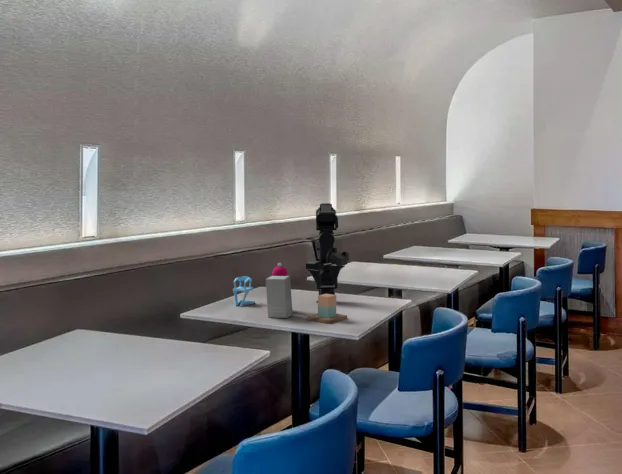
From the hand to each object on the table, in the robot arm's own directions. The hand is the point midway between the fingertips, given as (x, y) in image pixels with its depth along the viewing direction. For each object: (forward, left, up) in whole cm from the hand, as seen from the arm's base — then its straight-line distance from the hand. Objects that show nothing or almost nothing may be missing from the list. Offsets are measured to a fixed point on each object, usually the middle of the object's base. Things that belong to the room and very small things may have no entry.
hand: (326, 285), depth 229 cm
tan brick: (0, 0, -8) cm, 8 cm away
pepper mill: (-24, -1, -13) cm, 27 cm away
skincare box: (-18, -8, -13) cm, 23 cm away
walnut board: (0, 0, -13) cm, 13 cm away
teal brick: (0, 0, -12) cm, 12 cm away
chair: (-46, -1, -13) cm, 47 cm away
